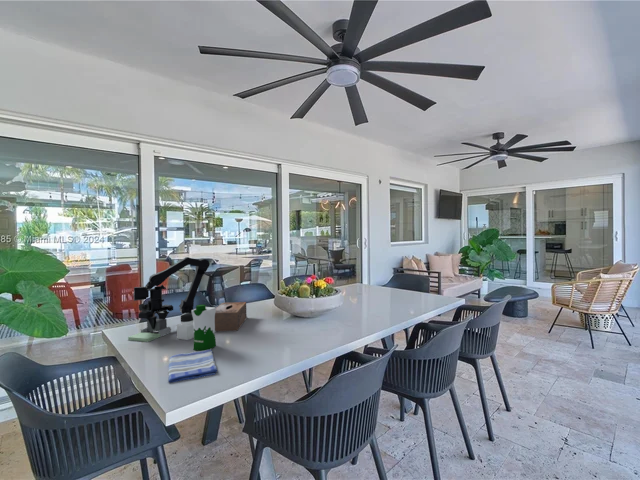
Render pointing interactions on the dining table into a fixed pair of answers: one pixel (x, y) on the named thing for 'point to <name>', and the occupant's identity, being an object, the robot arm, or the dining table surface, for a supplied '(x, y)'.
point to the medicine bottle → (185, 327)
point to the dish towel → (191, 365)
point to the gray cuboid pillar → (157, 325)
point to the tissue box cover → (230, 316)
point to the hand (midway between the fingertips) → (157, 327)
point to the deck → (148, 335)
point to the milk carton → (204, 327)
